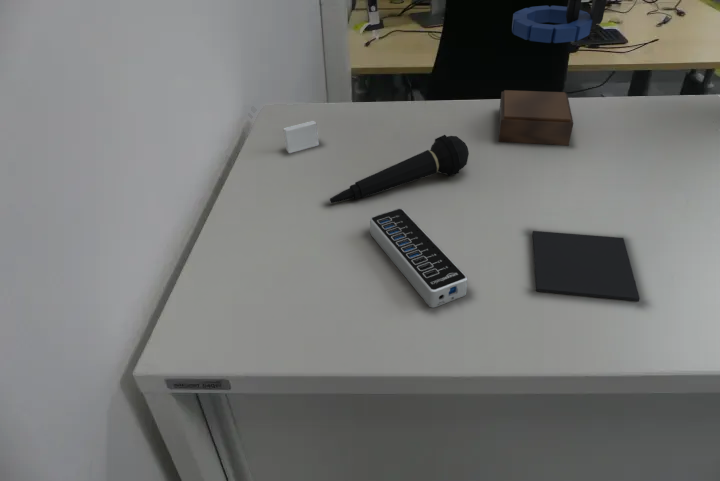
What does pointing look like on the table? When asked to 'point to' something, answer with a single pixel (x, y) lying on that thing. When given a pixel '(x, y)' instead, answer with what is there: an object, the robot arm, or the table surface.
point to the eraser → (301, 136)
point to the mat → (583, 266)
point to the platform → (535, 117)
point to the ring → (530, 27)
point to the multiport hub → (418, 258)
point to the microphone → (412, 169)
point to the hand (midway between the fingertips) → (582, 26)
